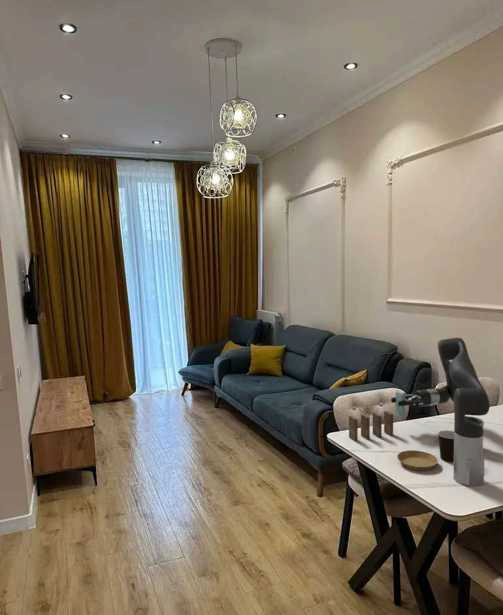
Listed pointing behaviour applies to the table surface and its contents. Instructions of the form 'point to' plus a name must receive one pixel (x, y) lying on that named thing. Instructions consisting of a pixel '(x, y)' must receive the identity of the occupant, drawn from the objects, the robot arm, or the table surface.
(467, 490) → the table surface
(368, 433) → the domino
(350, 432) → the domino
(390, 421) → the domino
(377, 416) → the domino
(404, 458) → the plant saucer
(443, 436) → the coffee mug
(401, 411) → the domino
